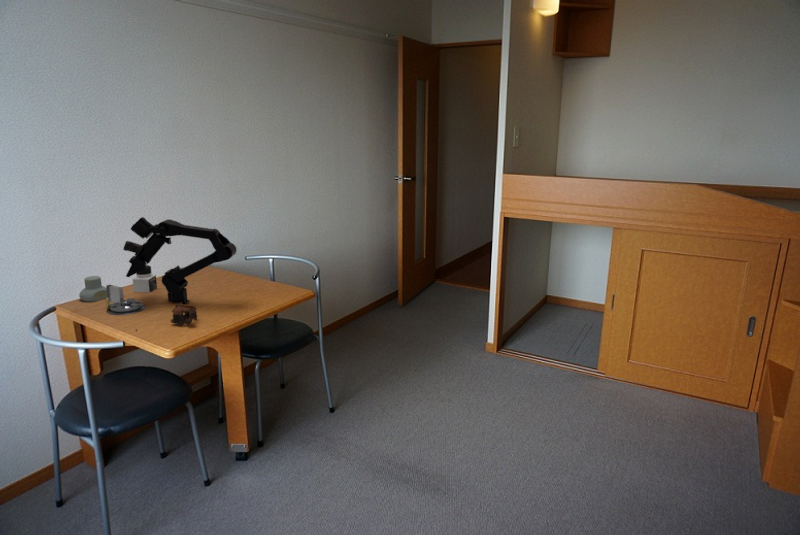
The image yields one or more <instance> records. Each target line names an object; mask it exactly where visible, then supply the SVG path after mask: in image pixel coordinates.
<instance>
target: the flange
mask: <svg viewBox="0 0 800 535" xmlns="http://www.w3.org/2000/svg"><path fill="white" fill-rule="evenodd" d="M104 300H105V306H106V314H108V315H111V316H128V315H135V314H137V313H140V312H143V311H144V310H145V309H147V306H146V305H145V304H143V303H141V304H142V307H141V308H140V309H139V310H136V311H133V312H128V313H114V312H112V311H111V309H110V304H111V302H109V298H108V297H107V298H105V299H104Z"/></svg>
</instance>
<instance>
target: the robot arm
mask: <svg viewBox="0 0 800 535" xmlns="http://www.w3.org/2000/svg"><path fill="white" fill-rule="evenodd" d="M130 230H131V231H132V232H133V233H134V234H136V235H137V236H138V237H140V238H141V239H142V240H143V239H147V240H146V241H145V243H144V242H143V244H139V243H135V242H133V241H129V240H127V241H125V243H124V245H123V246H124V247H123V249H122V250H123V251H126V252H131V253H134V255H132V256H131V257H130V259H129V260H128V263H130V267H129V269H128V271H127V273H126V275H125V277H127V278H130V277H131V276H132V277H133V275H136V273H137V272H139V271H141V270H142V271H143V270H144V269H145V268H146V266H147V265H149V264H150V262H151V261H152V259H153V258H154V257H155V256H156V255H157V253H158V252H159V251H160V250H161V248H162V247H163V246H164V245H165V244H167V245H171V244H172V240H171V239H172V237H176V236H183V237H189V238H191V237H192V238H198V239H203V240H204V239H205V240H208V241H210V243H211V246H212V248H214V250H215V251H213V252H211V253H210V254H208V255H206V256H204V257H202V258H200V259H199V260H197V261H194V262H192V263H190V264H188V265H186V266H184V267H180V265H176V266H175V267H174V268H169V270H167V271H166V272H163V275H162V277H161V283H162V285H163V286H164V287H165V289H166V292H167V300H168V302H169V303H172V304H181V303H182V304H184V305H187V304H188V303H189V302H190V299H188V291H187V286H188V284H189V282H188V280H187V279H186V278H187V277H188V276H191V275H193V274H195V273H197V272H199V271H201V270H203V269H205V268H207V267H209V266H212V265H214V264H216V263H221V262H225V261H228V260H230V259H231V258H232V257H234V256H235V255H236V254H237V246H236V245H235V244H234V243H232V242H231V241H230V240H229V239H228V238H227V237H226V236H224V235H223V234H222V233H221V231H219V229H216V228H207V227H201V226H193V225H186V224H183V223H181V222H178V221H176V220H173V219H165V220H163V221H161V222H159V223H156V224H152V223H151V222H150V221H148V220H147V219H146V218H145V217H144V216H143V217H140V218H139V219H138V220H137V221H135V223H133V224H132V226H131V227H130Z"/></svg>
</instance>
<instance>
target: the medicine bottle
mask: <svg viewBox="0 0 800 535" xmlns="http://www.w3.org/2000/svg"><path fill="white" fill-rule="evenodd" d="M135 275H136V276H135V277H133V278H132V287H133V292H134V293H152V292H153V291H155V290H156V289H158V282H157V275H156V274H152V267H151V265H150V264H147V266H146V268H145V269H144V270H143V271H142V270H141V271H139V272H137V273H135Z"/></svg>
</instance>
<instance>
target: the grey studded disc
mask: <svg viewBox="0 0 800 535" xmlns="http://www.w3.org/2000/svg"><path fill="white" fill-rule="evenodd" d="M105 287H106V289H107V298H109V303H110V309H111V311H112V312H114V313H128V312H133V311H136V310H139V309H140V308H141V307H142V304H143V303H142V300H141V299H135V298H134V297H133V298H132V297H129V298H127V299H125V298H124V291H123V286H118V285H113V284H107V285H105Z"/></svg>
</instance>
